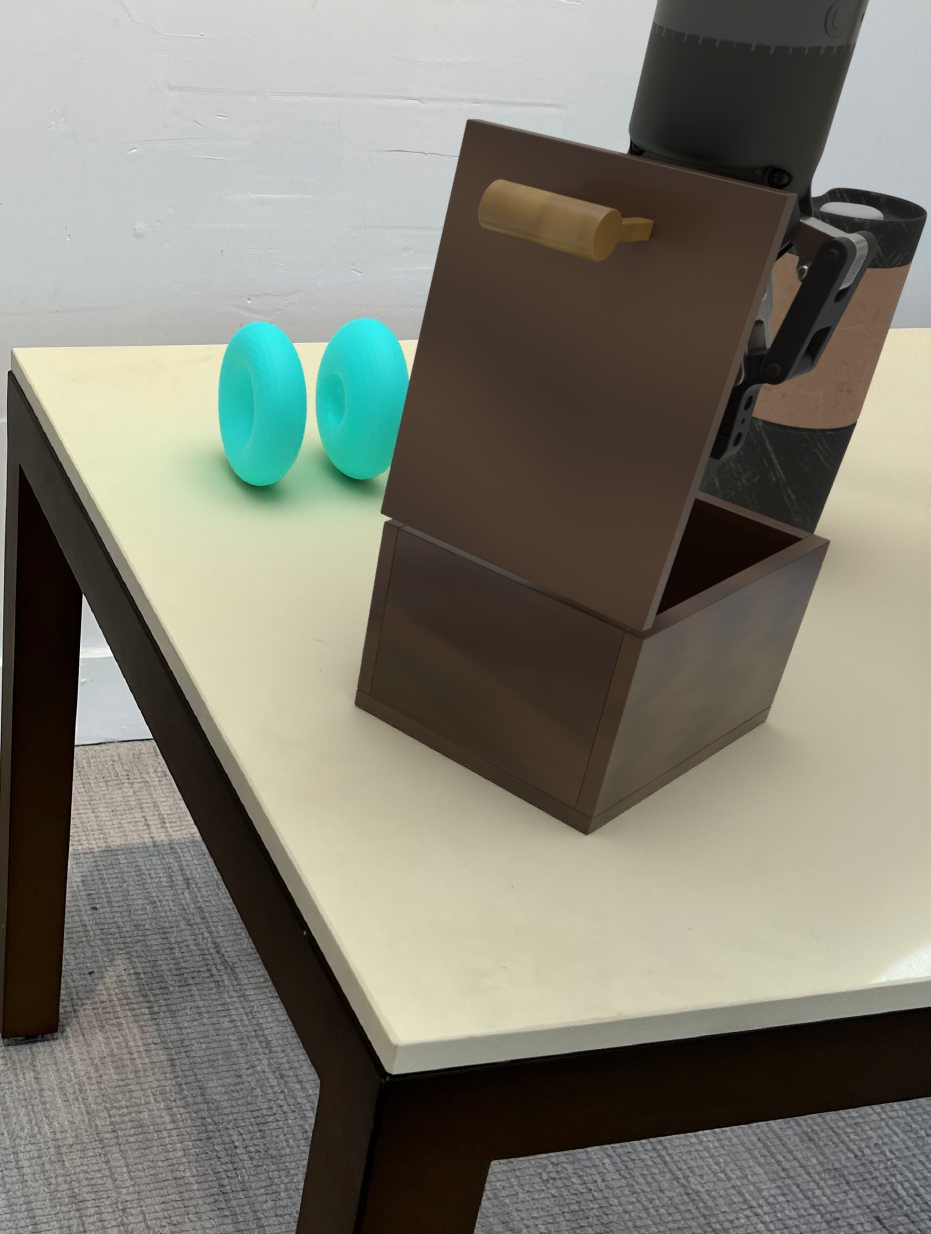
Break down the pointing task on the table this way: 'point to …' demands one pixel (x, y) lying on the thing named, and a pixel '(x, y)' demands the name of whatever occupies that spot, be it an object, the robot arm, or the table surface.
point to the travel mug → (821, 371)
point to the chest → (586, 661)
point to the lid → (578, 360)
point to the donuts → (345, 400)
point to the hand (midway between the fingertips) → (644, 439)
